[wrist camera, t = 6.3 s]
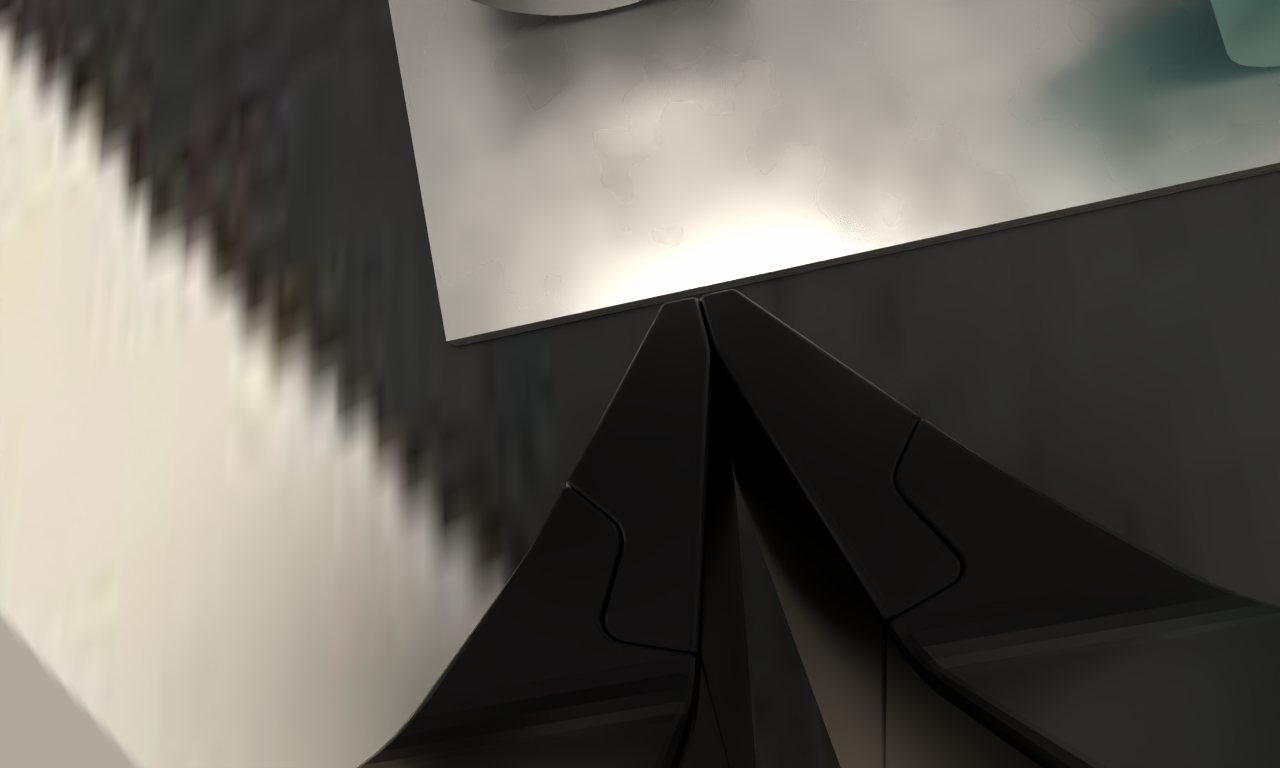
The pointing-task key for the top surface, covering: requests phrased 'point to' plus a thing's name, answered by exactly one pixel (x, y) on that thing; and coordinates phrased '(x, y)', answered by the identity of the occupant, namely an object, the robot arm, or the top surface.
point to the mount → (792, 136)
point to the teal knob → (1250, 30)
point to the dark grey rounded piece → (555, 6)
